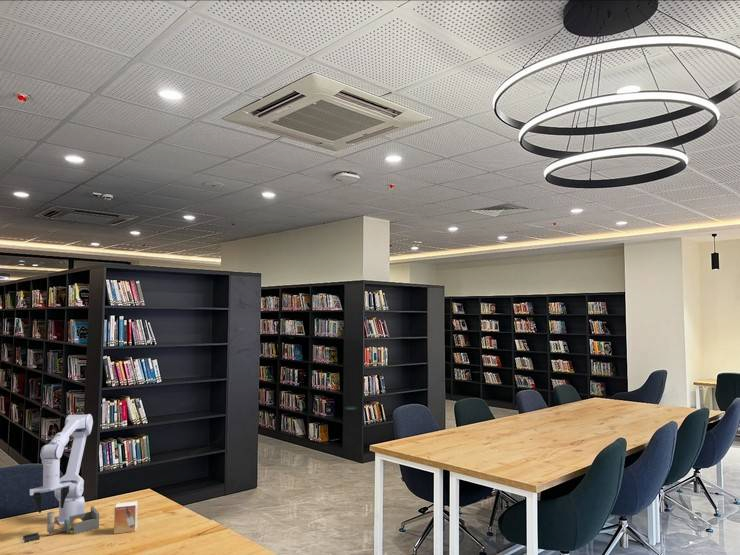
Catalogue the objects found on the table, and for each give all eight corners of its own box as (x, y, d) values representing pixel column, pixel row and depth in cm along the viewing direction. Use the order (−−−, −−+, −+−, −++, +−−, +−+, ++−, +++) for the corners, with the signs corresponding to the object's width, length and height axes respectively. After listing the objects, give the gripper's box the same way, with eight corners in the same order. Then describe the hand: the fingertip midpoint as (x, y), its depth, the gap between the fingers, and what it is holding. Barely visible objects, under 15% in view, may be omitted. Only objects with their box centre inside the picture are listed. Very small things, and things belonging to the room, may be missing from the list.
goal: (93, 520, 232) (93, 506, 232) (98, 528, 223) (99, 513, 224) (69, 526, 227) (69, 511, 227) (74, 534, 218) (74, 518, 218)
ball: (69, 520, 224) (72, 529, 224) (71, 523, 221) (74, 532, 221) (80, 515, 226) (82, 524, 227) (81, 518, 223) (84, 527, 223)
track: (38, 536, 217) (38, 532, 217) (39, 539, 214) (39, 535, 214) (23, 539, 214) (23, 535, 214) (24, 543, 210) (24, 539, 211)
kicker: (67, 527, 224) (67, 506, 225) (70, 532, 219) (70, 511, 220) (45, 532, 220) (46, 511, 220) (48, 537, 214) (48, 515, 215)
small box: (113, 534, 217) (114, 507, 218) (116, 529, 222) (116, 502, 223) (135, 532, 219) (135, 505, 220) (137, 526, 225) (137, 500, 225)
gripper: (31, 480, 211) (30, 517, 211) (73, 473, 220) (73, 508, 220) (29, 476, 217) (28, 511, 216) (70, 469, 226) (70, 503, 225)
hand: (50, 509), depth 218 cm, fingers open, 7 cm apart
